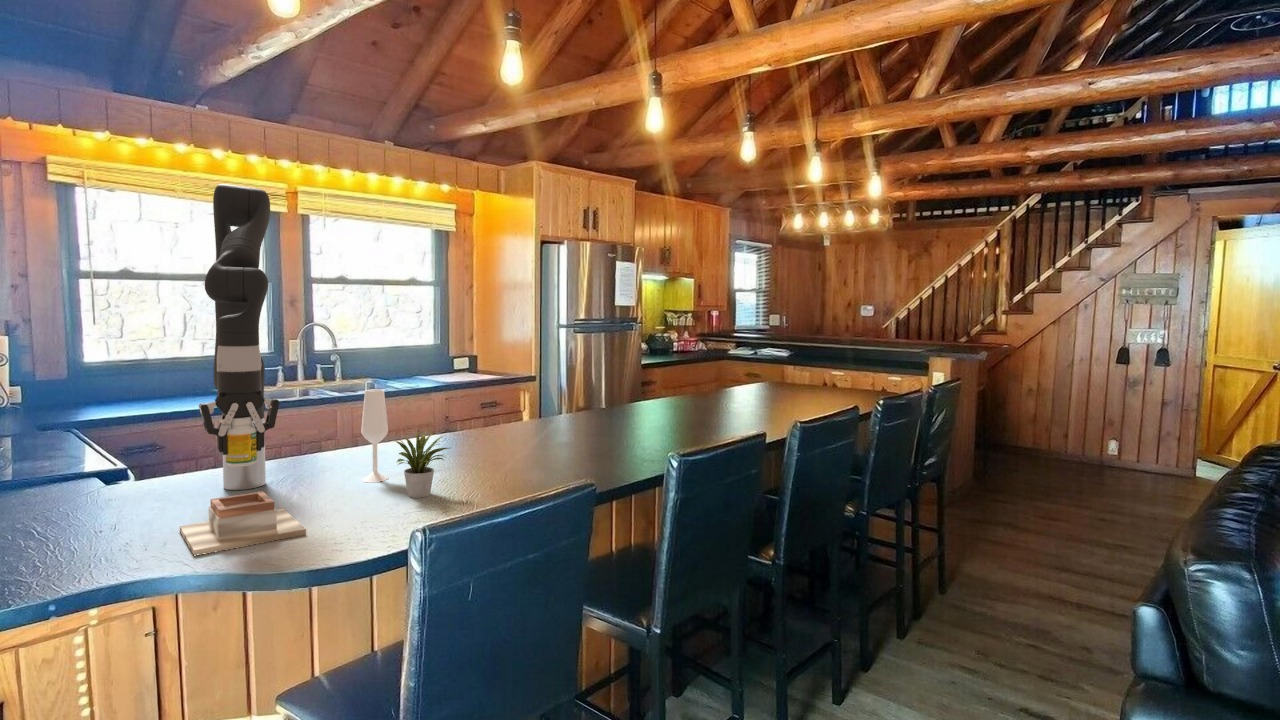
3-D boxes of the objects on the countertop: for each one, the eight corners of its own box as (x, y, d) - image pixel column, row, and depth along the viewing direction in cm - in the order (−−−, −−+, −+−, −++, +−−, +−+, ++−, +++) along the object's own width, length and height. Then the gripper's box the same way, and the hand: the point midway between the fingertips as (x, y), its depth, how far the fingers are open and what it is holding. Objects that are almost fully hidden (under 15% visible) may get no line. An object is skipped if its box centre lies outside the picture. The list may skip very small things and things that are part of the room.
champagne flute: (379, 474, 181) (378, 388, 180) (393, 478, 177) (393, 390, 176) (356, 479, 176) (355, 390, 174) (370, 483, 172) (370, 392, 170)
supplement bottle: (227, 462, 134) (226, 415, 133) (258, 460, 136) (257, 414, 135) (224, 468, 129) (223, 419, 128) (256, 466, 131) (254, 418, 130)
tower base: (179, 531, 133) (178, 498, 133) (283, 514, 146) (283, 483, 146) (193, 556, 121) (192, 520, 120) (306, 534, 133) (305, 501, 133)
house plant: (411, 508, 152) (411, 438, 151) (373, 498, 159) (372, 431, 158) (458, 494, 164) (458, 429, 163) (421, 485, 171) (421, 423, 170)
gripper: (274, 365, 138) (276, 444, 140) (192, 368, 129) (195, 453, 130) (284, 368, 133) (285, 451, 134) (199, 371, 123) (202, 460, 125)
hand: (241, 451), depth 132 cm, fingers closed on supplement bottle, 5 cm apart
